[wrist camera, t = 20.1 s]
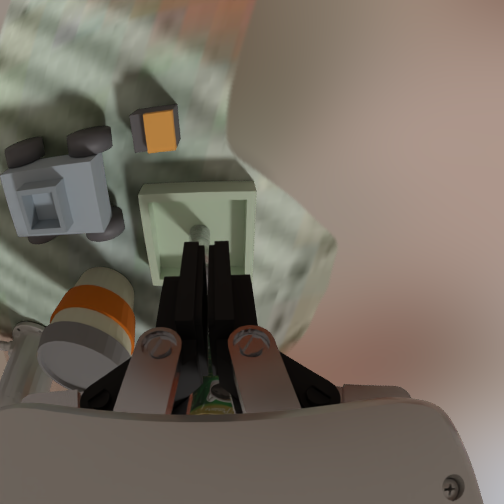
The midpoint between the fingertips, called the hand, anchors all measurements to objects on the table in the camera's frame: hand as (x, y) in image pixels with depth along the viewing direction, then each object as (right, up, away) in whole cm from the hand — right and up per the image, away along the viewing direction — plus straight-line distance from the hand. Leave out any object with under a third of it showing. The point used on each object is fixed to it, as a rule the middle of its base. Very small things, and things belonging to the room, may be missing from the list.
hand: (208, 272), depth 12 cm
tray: (-5, +4, +28) cm, 28 cm away
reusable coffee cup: (-20, -5, +32) cm, 38 cm away
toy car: (-20, +10, +22) cm, 31 cm away
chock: (-8, +15, +20) cm, 26 cm away
